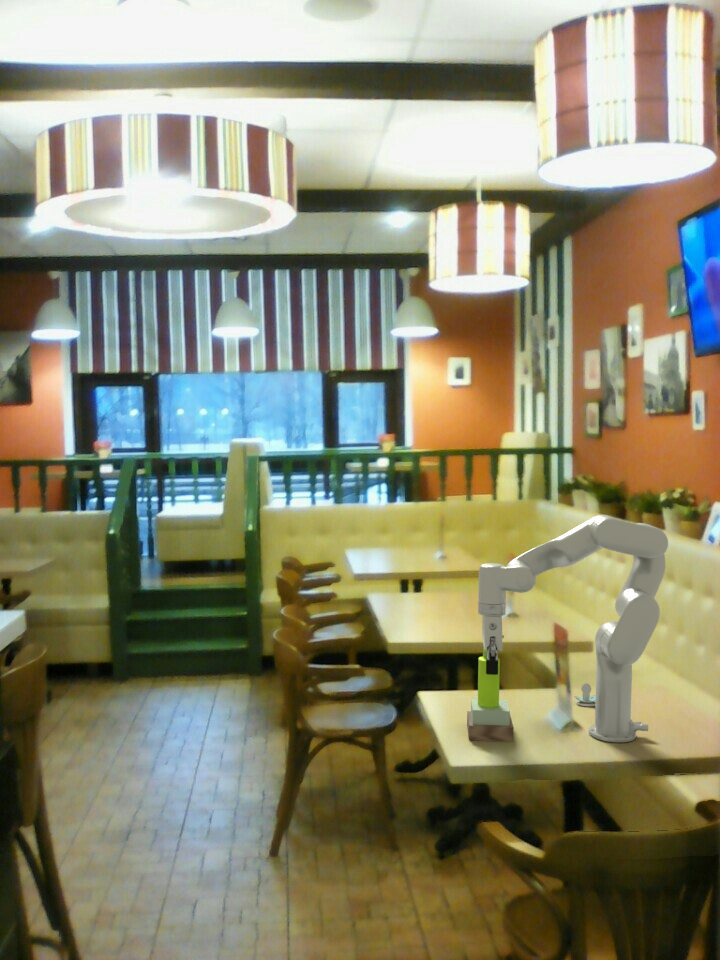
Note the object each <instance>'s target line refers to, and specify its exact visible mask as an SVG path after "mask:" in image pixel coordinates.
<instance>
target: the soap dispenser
mask: <svg viewBox="0 0 720 960" xmlns="http://www.w3.org/2000/svg"><path fill="white" fill-rule="evenodd" d="M504 638H505V635H503V634H502V640H503V639H504ZM489 649H491V648H489ZM489 653H490V652H489ZM477 659H478V665H477V666H478V667H477V669H478V670H477V675H478V676H477V699H478V705H479V706H480V707H484V708H496V707H498V706H499V700H500V676H501V675H500V672H501V671H500V670H501V666H500V665H501V664H500V663H501V659H500V658H499V657H498V674H497V675H487V674H486V660H487V651H485V649H484V645H483V647H482V656H479V657H478V658H477Z"/></svg>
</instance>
